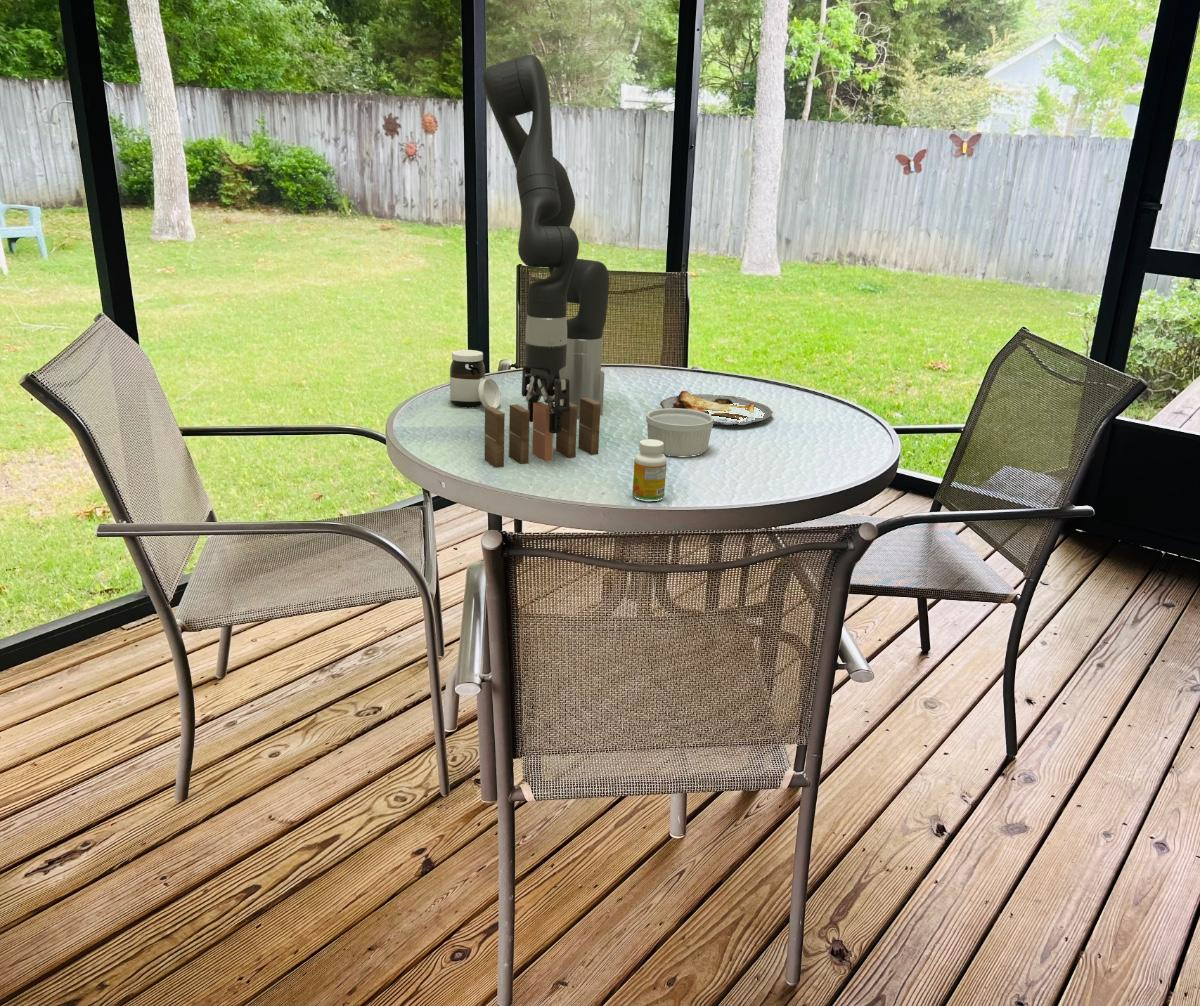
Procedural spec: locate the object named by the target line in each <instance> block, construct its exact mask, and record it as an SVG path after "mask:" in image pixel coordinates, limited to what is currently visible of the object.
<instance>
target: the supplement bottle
mask: <svg viewBox="0 0 1200 1006" xmlns="http://www.w3.org/2000/svg"><path fill="white" fill-rule="evenodd" d="M663 447H664V443H663V442H662V441H659V440H654V439H648V438H647V439H646V438H645V439H643V440H642V439H641V440H640V441H639V451H640V452H638V453H636V454H635V456H634V460H633V461H634V463H633V477H632V491H631V493H632V497H633V496H634V497H636V498H639V499H643V500H658V499H661V498H663V497H664V498H665V490H666V489H665V487H666V474H667V473H666V472H667V461H668V460H667V456H665V455H663V454H662V452H663V449H664V448H663ZM634 497H633V498H634ZM664 498H663V499H664Z"/></svg>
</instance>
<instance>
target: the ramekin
mask: <svg viewBox="0 0 1200 1006" xmlns="http://www.w3.org/2000/svg"><path fill="white" fill-rule="evenodd" d="M645 422H646V424H647V425H646V426H647V429H646V430H647V439H654V440H659V441H662V442H663V443H664V447H663V448H664V449H663V452H662V454H664V455H670V456H692V455H698V454H701V453H703V452H704V453H705V452H706V451H707V449H708V448H709V447H708V446H709V443H710V439H711V433H712V430H713V429H712V428H713V427H714V425H713V422H714V419H713V417H712V416H711V415H709V414H707V413H704V412H701V411H696V410H690V409H680V408H666V409H663V408H657V409H652V410H651V411H650V410H649V411H648V412H647V413H646V418H645ZM704 453H703V454H704ZM701 455H702V454H701ZM670 456H669V457H670Z"/></svg>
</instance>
